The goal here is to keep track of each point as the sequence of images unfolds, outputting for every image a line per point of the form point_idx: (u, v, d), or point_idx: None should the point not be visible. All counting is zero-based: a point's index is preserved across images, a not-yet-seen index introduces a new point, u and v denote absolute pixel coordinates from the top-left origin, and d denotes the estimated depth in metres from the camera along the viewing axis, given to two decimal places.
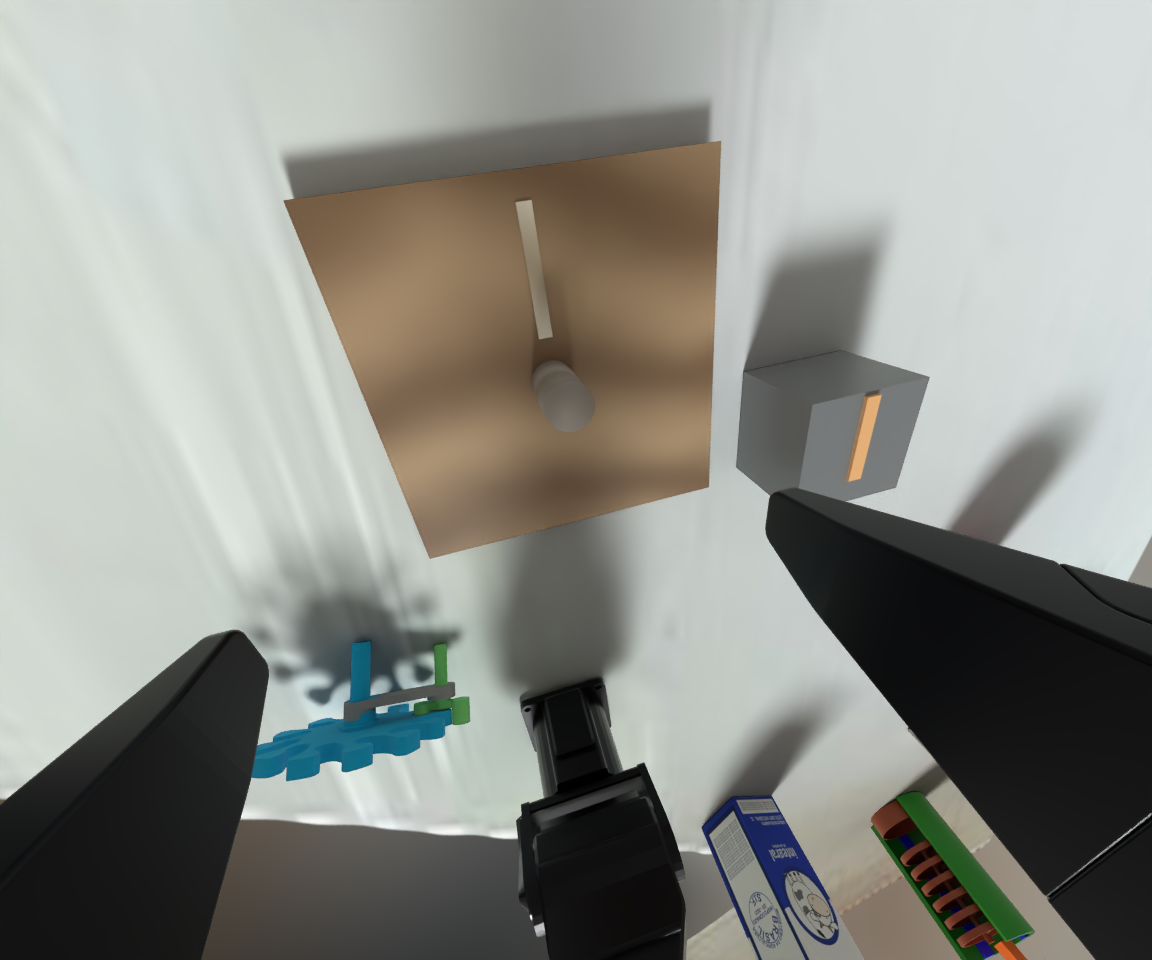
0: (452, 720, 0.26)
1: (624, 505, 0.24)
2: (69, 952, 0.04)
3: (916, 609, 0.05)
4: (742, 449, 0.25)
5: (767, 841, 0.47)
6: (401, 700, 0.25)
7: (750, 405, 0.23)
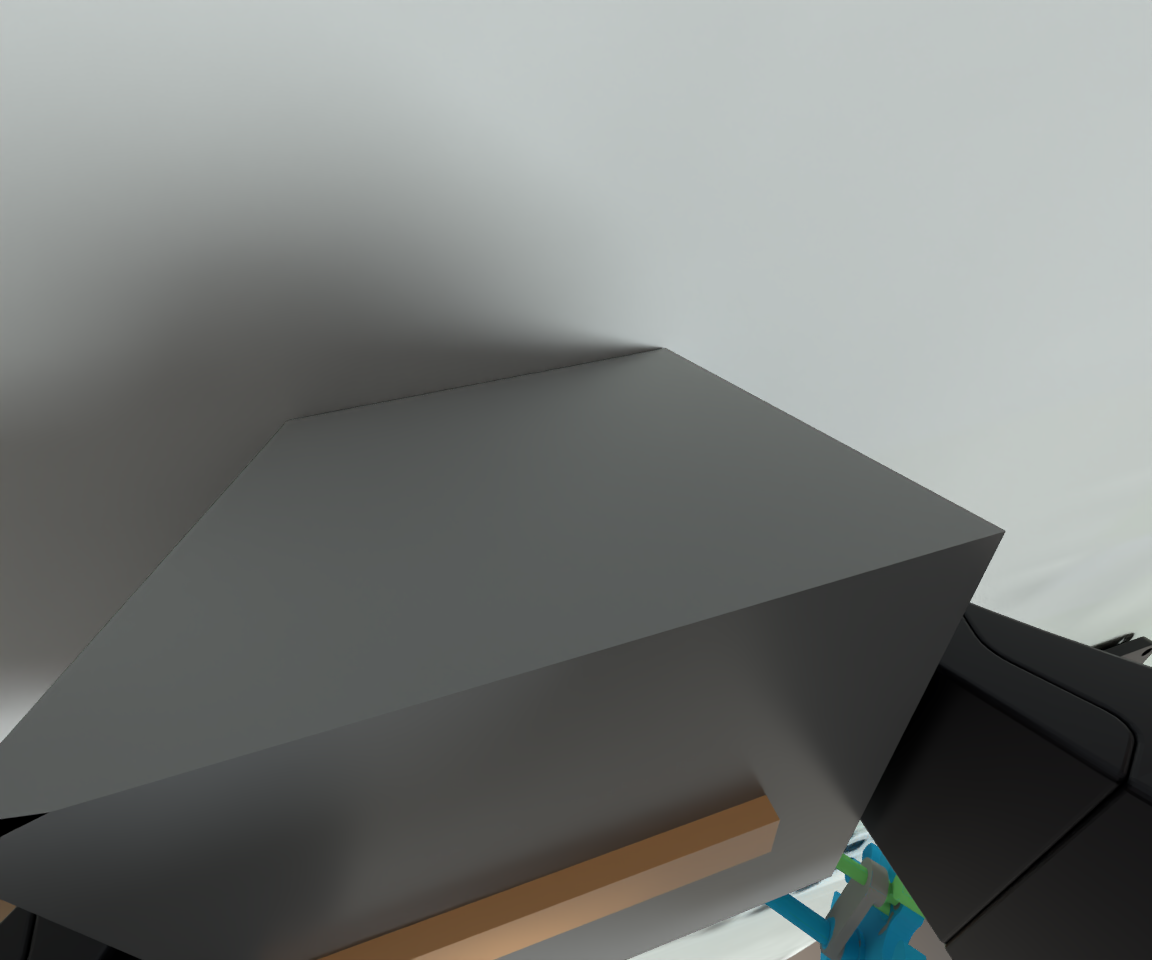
0: None
1: None
2: None
3: None
4: None
5: None
6: (852, 929, 0.21)
7: None
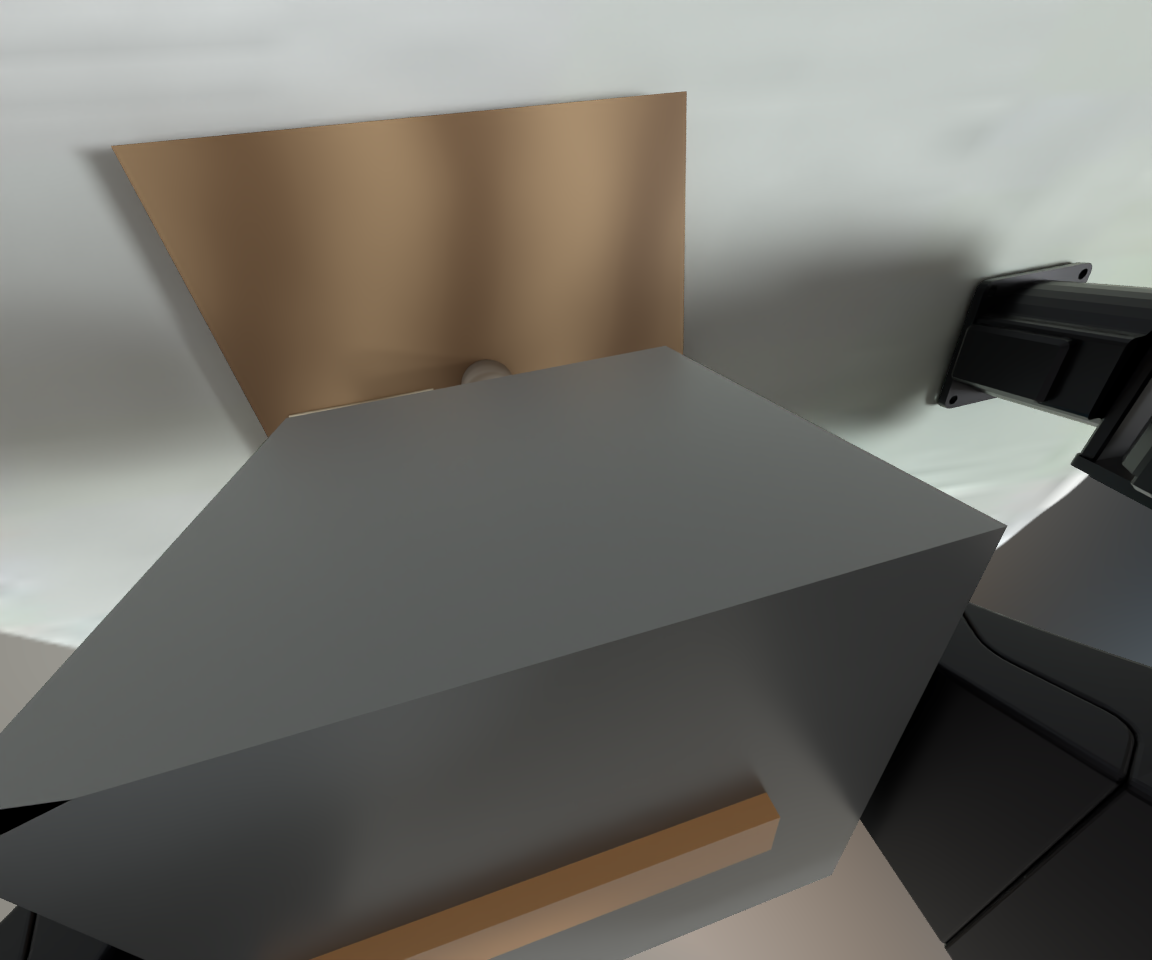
0: None
1: (678, 272, 0.16)
2: None
3: None
4: None
5: None
6: None
7: None
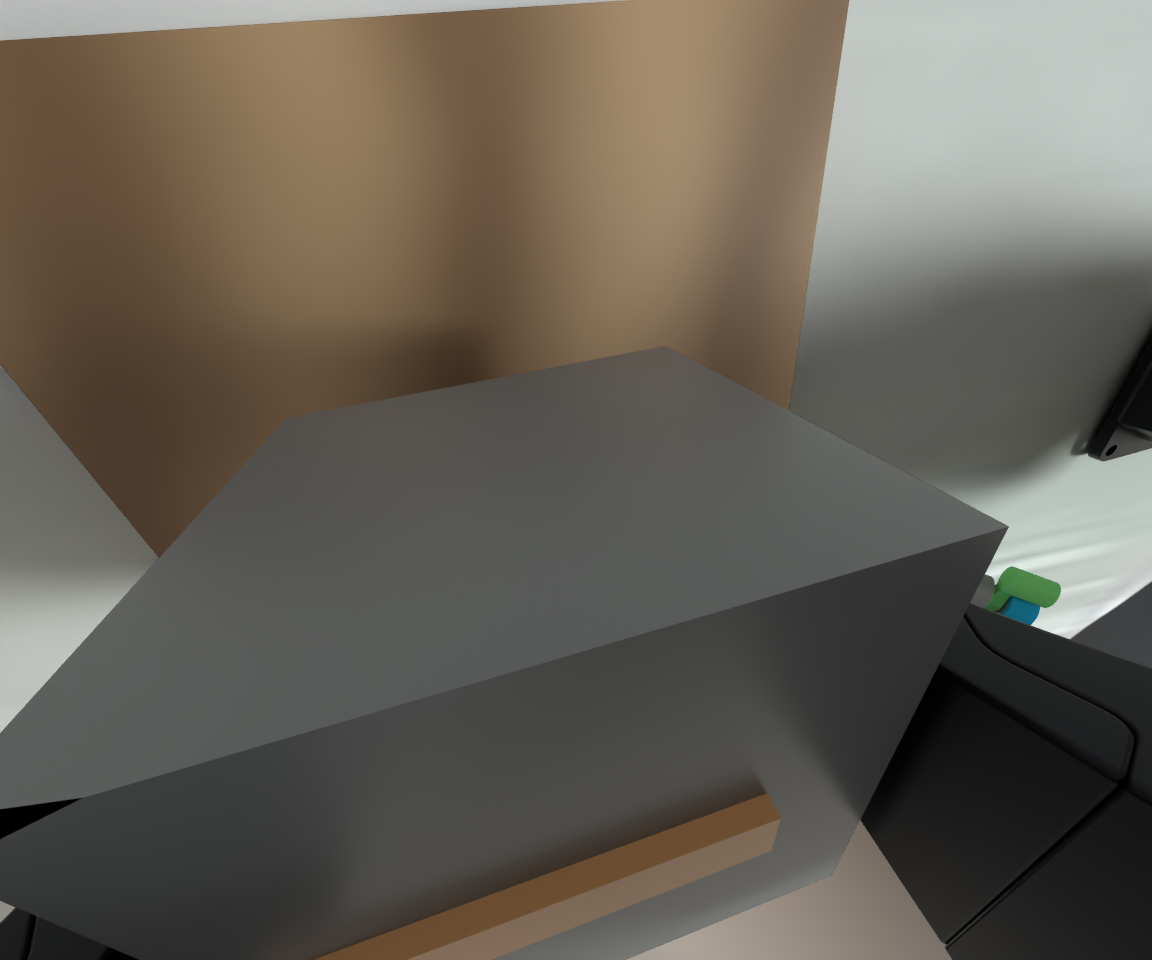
0: (1034, 604, 0.16)
1: (798, 292, 0.10)
2: None
3: None
4: None
5: None
6: None
7: None
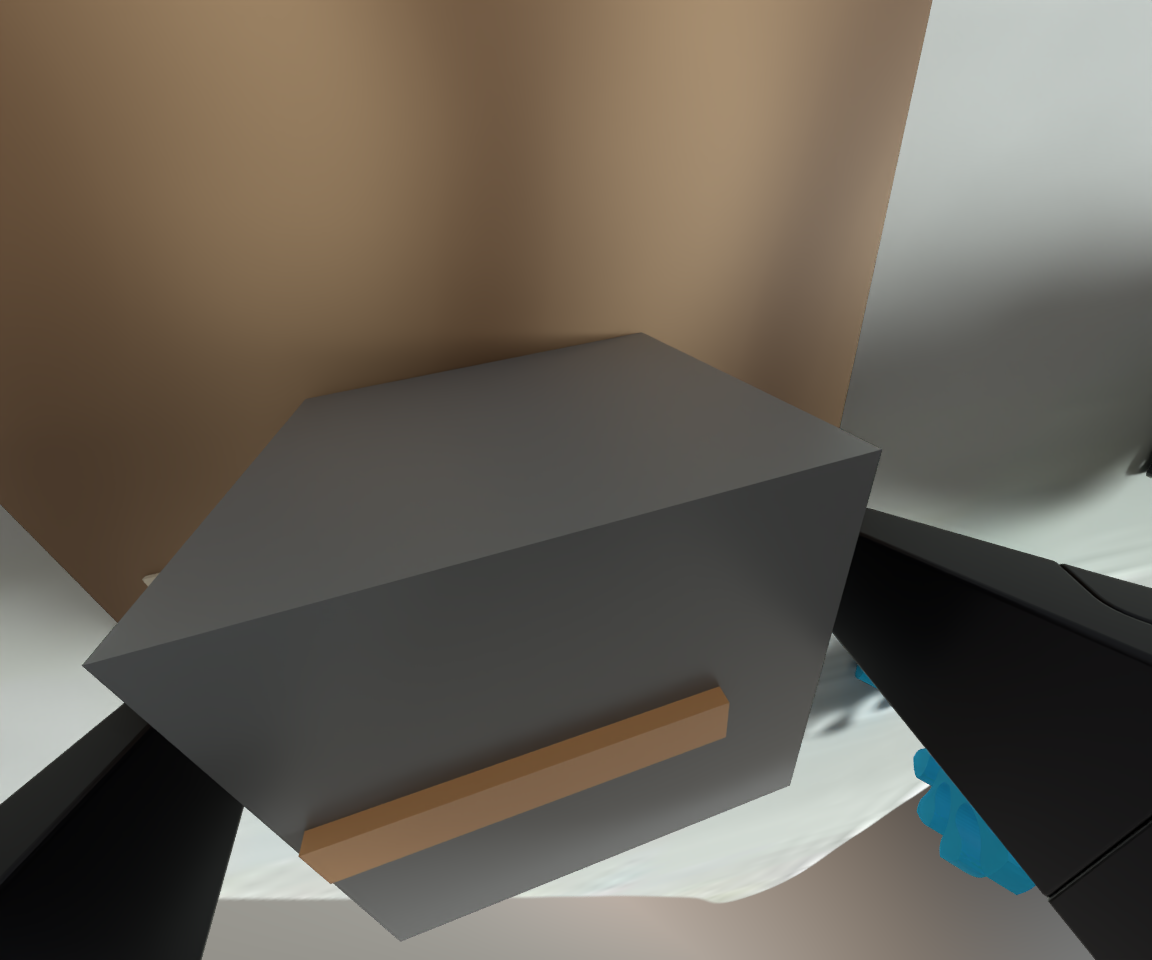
0: None
1: (858, 302, 0.09)
2: (69, 952, 0.04)
3: (916, 609, 0.05)
4: None
5: None
6: None
7: None
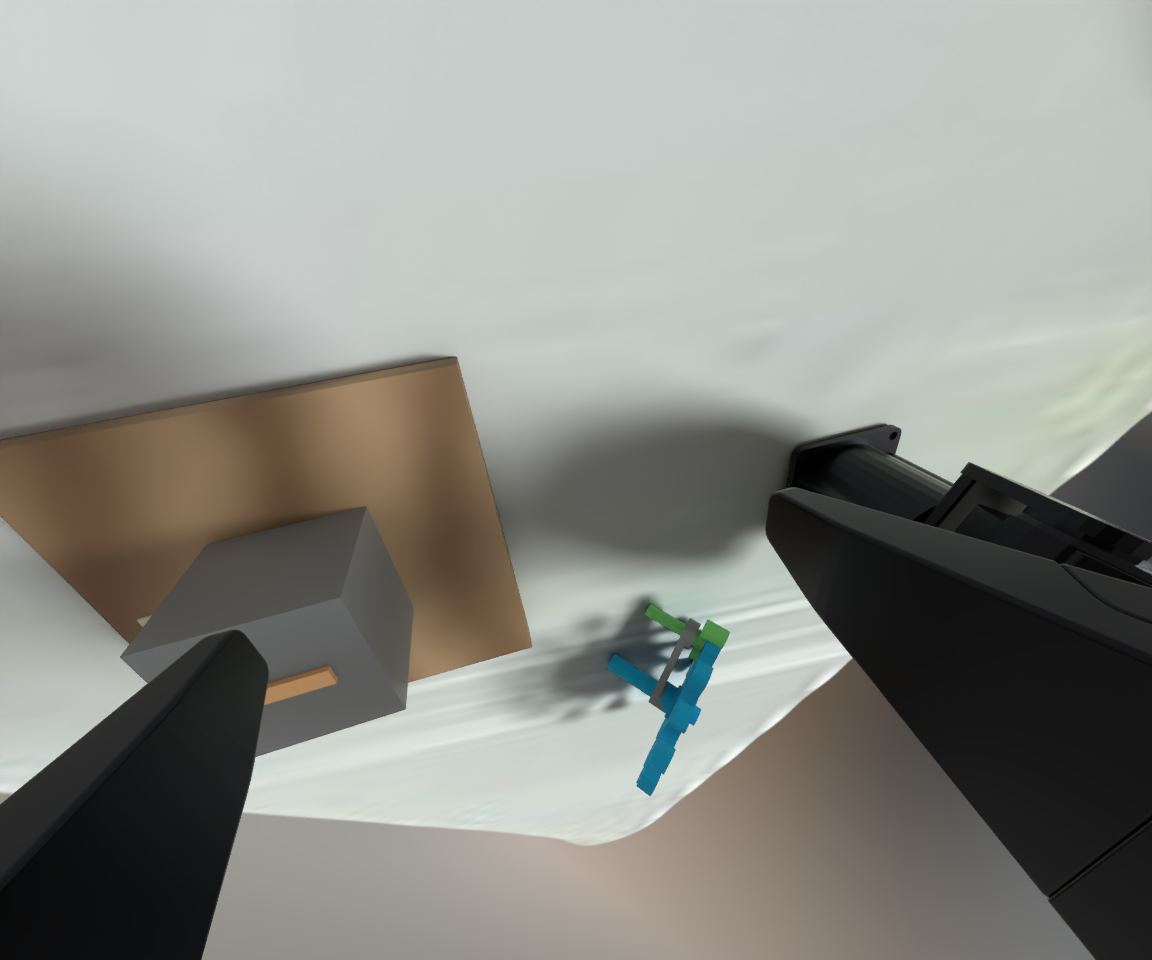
0: (717, 645, 0.24)
1: (483, 483, 0.18)
2: (69, 952, 0.04)
3: (916, 609, 0.05)
4: None
5: None
6: (669, 671, 0.25)
7: None
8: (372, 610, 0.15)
